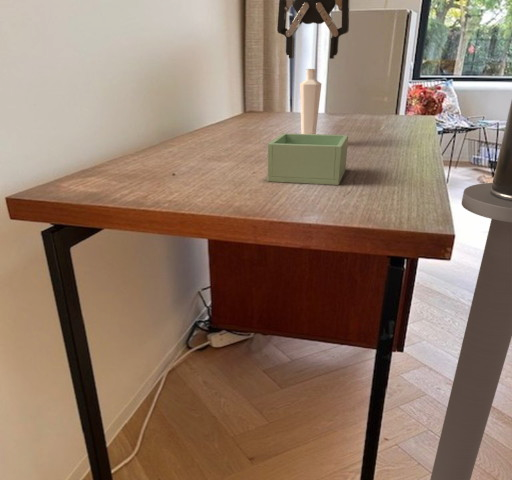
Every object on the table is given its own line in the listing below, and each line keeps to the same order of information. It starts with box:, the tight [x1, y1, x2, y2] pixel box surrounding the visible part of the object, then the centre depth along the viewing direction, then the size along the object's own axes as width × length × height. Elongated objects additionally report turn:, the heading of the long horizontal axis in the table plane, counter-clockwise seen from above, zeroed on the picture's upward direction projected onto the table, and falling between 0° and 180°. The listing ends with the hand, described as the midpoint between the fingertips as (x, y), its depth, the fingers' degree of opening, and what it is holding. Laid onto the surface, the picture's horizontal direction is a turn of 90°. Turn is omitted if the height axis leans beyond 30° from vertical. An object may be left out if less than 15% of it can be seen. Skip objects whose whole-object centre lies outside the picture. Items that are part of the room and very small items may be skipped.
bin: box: [266, 132, 349, 186], centre depth 84 cm, size 12×12×6 cm
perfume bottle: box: [299, 68, 322, 134], centre depth 109 cm, size 5×4×15 cm
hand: (311, 58), depth 104 cm, fingers open, 8 cm apart
